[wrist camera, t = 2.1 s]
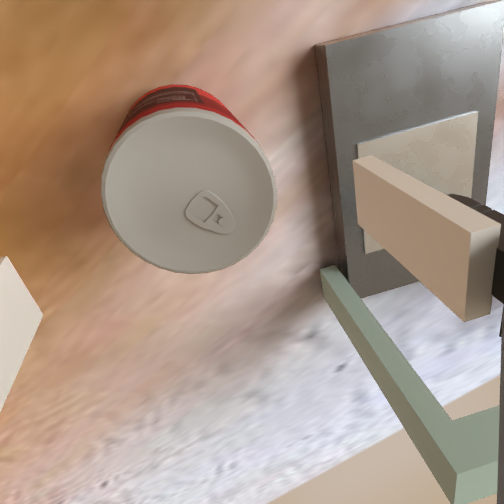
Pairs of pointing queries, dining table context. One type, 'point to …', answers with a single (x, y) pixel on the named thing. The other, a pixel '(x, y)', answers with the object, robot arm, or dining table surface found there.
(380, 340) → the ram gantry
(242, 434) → the dining table surface
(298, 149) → the dining table surface
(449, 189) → the plate
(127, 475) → the dining table surface
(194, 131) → the canned food
